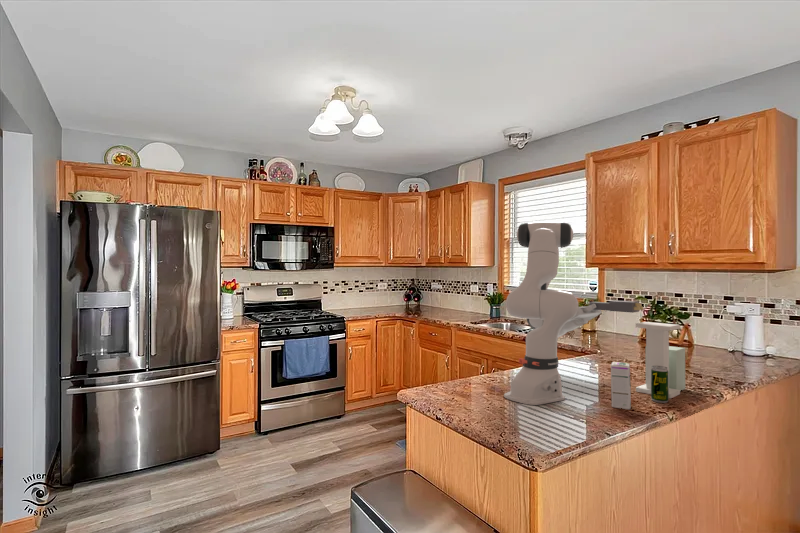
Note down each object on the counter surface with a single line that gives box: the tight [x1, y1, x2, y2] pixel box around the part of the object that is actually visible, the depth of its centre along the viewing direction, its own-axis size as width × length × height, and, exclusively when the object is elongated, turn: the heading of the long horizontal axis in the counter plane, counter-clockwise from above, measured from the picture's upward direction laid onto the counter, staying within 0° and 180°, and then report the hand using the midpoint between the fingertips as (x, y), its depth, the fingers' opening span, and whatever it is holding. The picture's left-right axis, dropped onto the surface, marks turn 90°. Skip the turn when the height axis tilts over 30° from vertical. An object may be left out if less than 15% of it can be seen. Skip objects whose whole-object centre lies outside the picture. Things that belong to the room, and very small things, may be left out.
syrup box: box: [610, 361, 632, 410], centre depth 148 cm, size 6×6×14 cm
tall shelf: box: [635, 321, 681, 399], centre depth 165 cm, size 9×12×26 cm
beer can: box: [650, 366, 670, 404], centre depth 154 cm, size 5×5×12 cm
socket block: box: [645, 345, 686, 392], centre depth 172 cm, size 9×11×16 cm
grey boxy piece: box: [588, 300, 644, 314], centre depth 177 cm, size 20×6×4 cm, turn 39°
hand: (599, 304), depth 183 cm, fingers closed on grey boxy piece, 3 cm apart
